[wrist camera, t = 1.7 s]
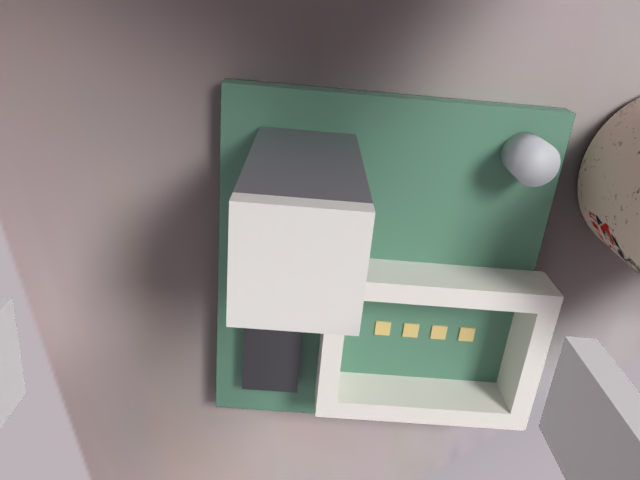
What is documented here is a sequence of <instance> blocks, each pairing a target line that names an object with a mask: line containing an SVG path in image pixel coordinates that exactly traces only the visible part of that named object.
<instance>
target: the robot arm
mask: <svg viewBox="0 0 640 480" xmlns="http://www.w3.org/2000/svg"><path fill="white" fill-rule="evenodd" d="M25 394H26V388H25V381H24V374H23V368H22V361H21V353H20V347H19V340H18V333H17V326H16V319H15V313H14V306H13V299H12V297H0V429H1V428H2V426H3V425H4V424H5V422H6V421H7V419H8V418H9V417H10V415H11V413H12V412H13V411H14V410H15V408H16V407H17V405H18V404H19V403H20V401H21V400H22V399H23V397H24V396H25ZM539 428H540V430H541V431H542V434H543V436H544V438H545V440H546V442H547V444H548V446H549V448H550V450H551V452H552V454H553V456H554V457H555V460H556V461H557V464H558V465H559V467H560V470H561V471H562V474H563V475H564V477H565V479H566V480H640V393H639V392H638V390H637V389H636V388H635V387H634V385H633V384H632V383H631V382H630V380H629V379H628V378H627V376H626V375H625V374H624V373H623V371H622V370H621V369H620V368H619V366H618V365H617V364H616V363H615V361H614V360H613V359H612V357H611V356H610V355H609V354H608V352H607V351H606V350H605V349H604V347H603V346H602V345H601V344H600V342H599V341H598V340H597V339H595V338H581V337H566V336H565V340H564V343H563V346H562V350H561V353H560V356H559V360H558V363H557V367H556V370H555V373H554V377H553V380H552V383H551V387H550V390H549V394H548V397H547V400H546V404H545V407H544V410H543V414H542V417H541V421H540V424H539Z"/></svg>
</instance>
